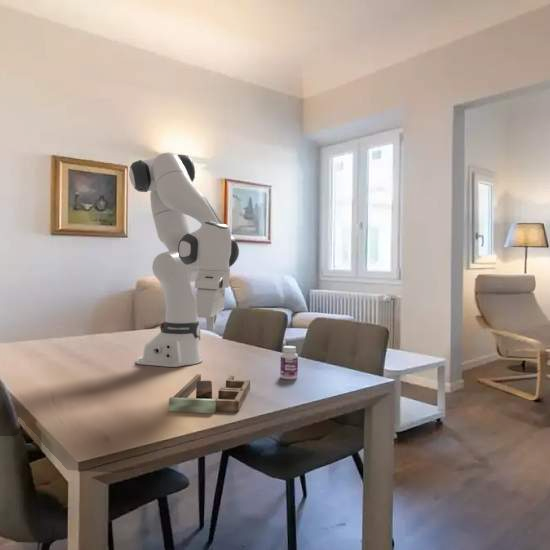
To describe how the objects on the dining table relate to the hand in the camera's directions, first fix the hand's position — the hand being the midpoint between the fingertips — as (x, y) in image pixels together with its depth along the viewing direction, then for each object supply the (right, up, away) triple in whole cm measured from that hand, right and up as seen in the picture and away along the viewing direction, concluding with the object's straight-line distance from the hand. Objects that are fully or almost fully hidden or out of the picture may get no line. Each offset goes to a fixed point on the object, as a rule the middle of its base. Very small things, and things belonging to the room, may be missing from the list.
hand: (210, 329), depth 130 cm
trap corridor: (+2, -17, -7) cm, 18 cm away
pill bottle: (+22, -17, +14) cm, 31 cm away
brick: (0, -18, -13) cm, 22 cm away
